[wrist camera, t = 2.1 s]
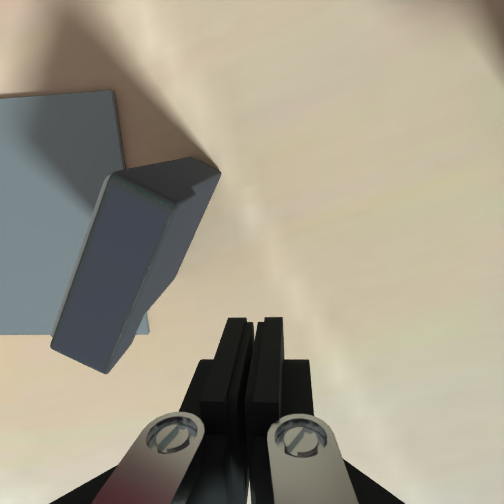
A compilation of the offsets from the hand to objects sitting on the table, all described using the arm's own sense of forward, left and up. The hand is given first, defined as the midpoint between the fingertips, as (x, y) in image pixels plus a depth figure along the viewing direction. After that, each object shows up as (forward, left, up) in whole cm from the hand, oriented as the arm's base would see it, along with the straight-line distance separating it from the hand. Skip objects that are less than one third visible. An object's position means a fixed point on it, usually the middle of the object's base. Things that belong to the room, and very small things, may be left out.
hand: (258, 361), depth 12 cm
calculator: (+9, 0, -22) cm, 24 cm away
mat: (+21, 0, -22) cm, 31 cm away
